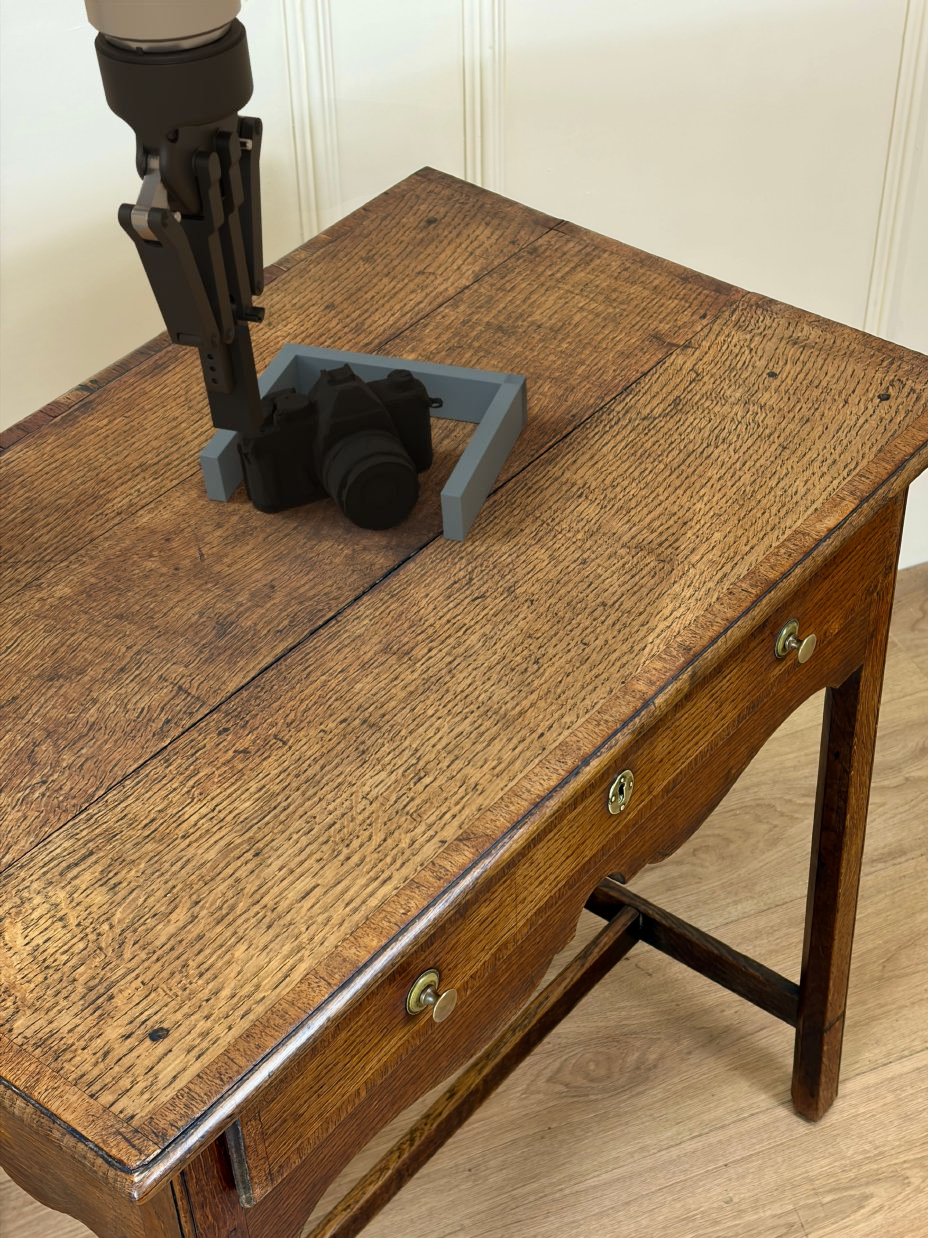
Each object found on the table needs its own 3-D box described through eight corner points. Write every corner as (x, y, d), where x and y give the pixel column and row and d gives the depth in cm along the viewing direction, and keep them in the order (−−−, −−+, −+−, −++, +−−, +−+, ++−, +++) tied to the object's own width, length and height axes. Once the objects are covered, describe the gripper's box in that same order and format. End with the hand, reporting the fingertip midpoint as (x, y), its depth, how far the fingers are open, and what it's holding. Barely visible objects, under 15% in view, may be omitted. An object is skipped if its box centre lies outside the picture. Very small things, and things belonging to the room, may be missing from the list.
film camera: (277, 564, 103) (257, 458, 97) (240, 490, 109) (219, 386, 103) (477, 508, 107) (470, 403, 101) (429, 440, 113) (421, 337, 107)
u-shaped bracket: (208, 499, 109) (198, 454, 106) (293, 385, 120) (286, 342, 117) (463, 542, 104) (460, 496, 101) (527, 419, 115) (526, 375, 112)
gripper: (178, 82, 68) (251, 496, 84) (289, -14, 77) (336, 377, 93) (34, 66, 69) (133, 475, 86) (159, -26, 78) (228, 360, 95)
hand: (238, 424), depth 89 cm, fingers closed
